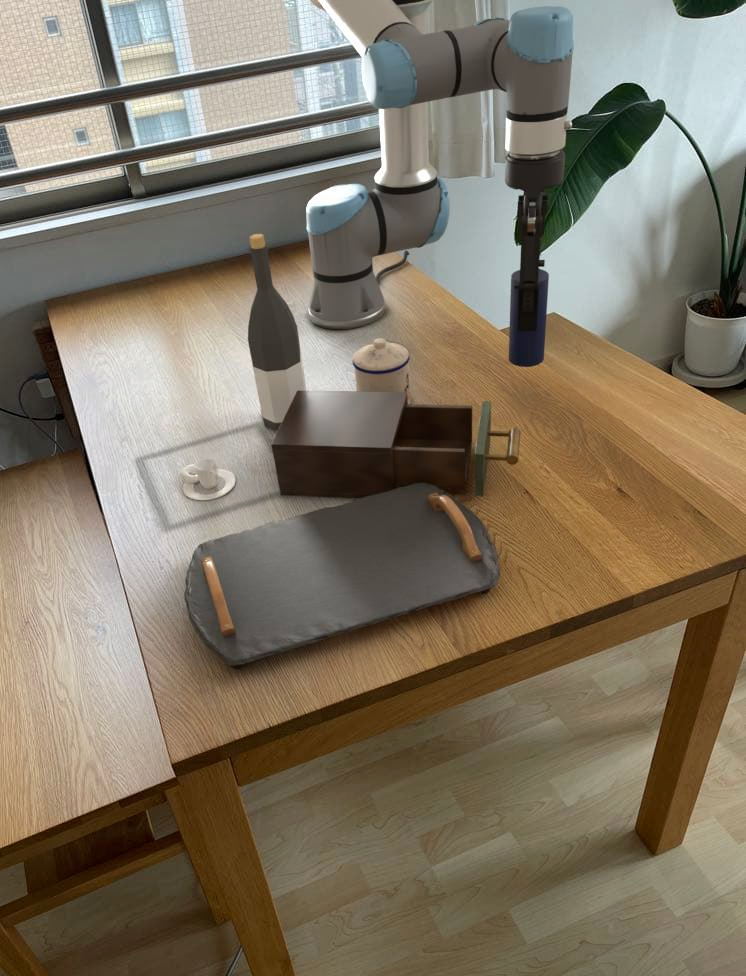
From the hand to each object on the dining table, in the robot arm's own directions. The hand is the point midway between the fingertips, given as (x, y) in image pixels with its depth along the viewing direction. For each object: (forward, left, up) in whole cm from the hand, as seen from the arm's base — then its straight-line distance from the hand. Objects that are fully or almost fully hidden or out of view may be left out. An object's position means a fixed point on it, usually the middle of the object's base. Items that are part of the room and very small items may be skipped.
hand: (527, 320), depth 119 cm
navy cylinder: (0, 0, -6) cm, 6 cm away
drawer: (+17, -10, -14) cm, 25 cm away
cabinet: (+17, -25, -15) cm, 34 cm away
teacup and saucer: (+20, -45, -16) cm, 52 cm away
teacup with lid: (-2, -23, -15) cm, 28 cm away
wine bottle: (+4, -38, -15) cm, 41 cm away
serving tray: (+41, -21, -15) cm, 49 cm away
